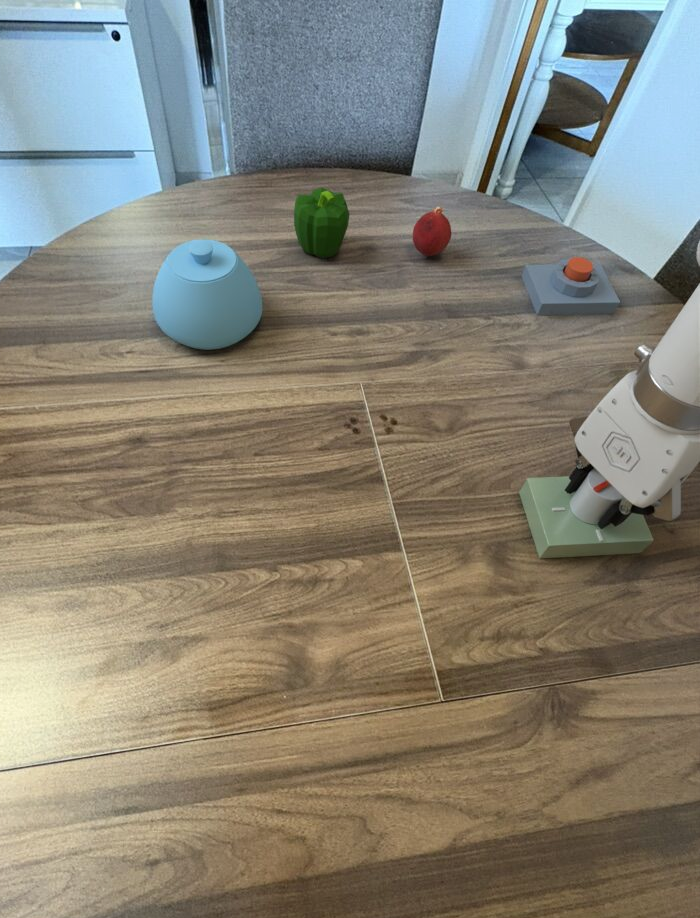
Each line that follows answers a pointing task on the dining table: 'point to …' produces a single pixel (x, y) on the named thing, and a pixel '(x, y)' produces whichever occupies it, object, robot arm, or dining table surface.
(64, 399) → the dining table surface
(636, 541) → the tap panel
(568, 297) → the button box
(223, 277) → the sugar bowl
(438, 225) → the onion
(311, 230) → the bell pepper
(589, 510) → the tap knob
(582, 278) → the stop button
